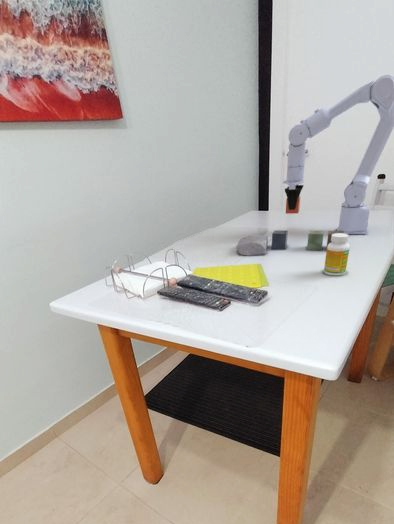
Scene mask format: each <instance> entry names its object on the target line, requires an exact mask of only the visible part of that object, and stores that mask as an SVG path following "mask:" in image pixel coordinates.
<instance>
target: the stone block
mask: <svg viewBox="0 0 394 524" xmlns="http://www.w3.org/2000/svg"><path fill="white" fill-rule="evenodd" d="M268 239H269V236H268V235H257V234H256V235H255V234H253V235H248V236H245V237H242V238H240V240H239V241H238V242H237V244H236V251H237V253H238V254H239V255H242V256H249V257H250V256H265V255H266V253H267V248H268Z"/></svg>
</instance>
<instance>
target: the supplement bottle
mask: <svg viewBox="0 0 394 524" xmlns="http://www.w3.org/2000/svg"><path fill="white" fill-rule="evenodd" d="M349 235H350V234H344V233H335V234H332V236H331V241H332V242H331V243H329V244H328V246H327V245H326V248H327V250H326V253H325V260H324V265H323V266H324V267H323V272H324V274H326V275H327V276H328V275H329V276H335V277H336V276H343V275H345V274H346V272H347V266H348V261H349V255H350V249H351V245H350V244H349V243H348V242H349Z"/></svg>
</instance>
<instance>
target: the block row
mask: <svg viewBox="0 0 394 524" xmlns="http://www.w3.org/2000/svg"><path fill="white" fill-rule="evenodd" d="M324 233H325V232H324V230H309V231H308V236H307V244H306V245H307V246H306V250H307V251H322V249H323V241H324ZM335 233H344V231H337V230H328V234H327V241H326V247H325V250H326V251H327V246H328V244H329V243H331V242H332V241H331V236H332V234H335ZM288 234H289V230H288V229H287V230H283V229H282V230H281V229H279V230H277V229H275V230H273V232H272V234H271V250H286V248H287V246H288V237H289V235H288Z"/></svg>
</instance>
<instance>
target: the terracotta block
mask: <svg viewBox="0 0 394 524" xmlns="http://www.w3.org/2000/svg"><path fill="white" fill-rule="evenodd" d="M300 206H301V196H299V197H298V199H297V204H296V208H295V210H289V207H288V199H287V198H286V201H285V214H288V215H289V214H290V215H291V214H293V215H294V214H299V212H300V208H301V207H300Z"/></svg>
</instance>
